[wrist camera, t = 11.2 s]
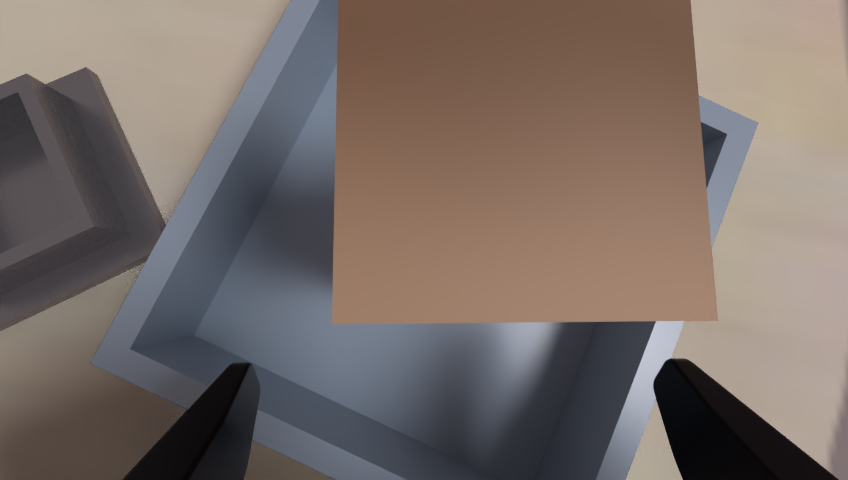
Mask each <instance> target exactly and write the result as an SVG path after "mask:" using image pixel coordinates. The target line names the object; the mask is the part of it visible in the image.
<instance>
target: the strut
mask: <svg viewBox="0 0 848 480" xmlns="http://www.w3.org/2000/svg"><path fill="white" fill-rule="evenodd" d="M624 321H718V317H717V305H716V293H715V282H714V270H713V258H712V247H711V235H710V223H709V212H708V200H707V189H706V177H705V165H704V154H703V142H702V130H701V119H700V107H699V95H698V84H697V72H696V60H695V49H694V37H693V25H692V14H691V2H690V0H338V38H337V90H336V142H335V194H334V246H333V298H332V324H412V323H518V322H624Z"/></svg>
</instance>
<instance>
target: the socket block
mask: <svg viewBox="0 0 848 480" xmlns="http://www.w3.org/2000/svg"><path fill="white" fill-rule="evenodd" d="M165 227H166V225H165V222H164V220H163V218H162V216H161V214H160V211H159V209H158V207H157V205H156V203H155V201H154V198H153V196H152V194H151V192H150V190H149V187H148V185H147V183H146V181H145V179H144V177H143V174H142V172H141V170H140V168H139V166H138V163H137V161H136V159H135V157H134V155H133V153H132V150H131V148H130V146H129V144H128V142H127V139H126V137H125V135H124V133H123V131H122V128H121V126H120V124H119V122H118V120H117V118H116V115H115V113H114V111H113V109H112V107H111V104H110V102H109V100H108V98H107V96H106V94H105V91H104V89H103V87H102V85H101V83H100V80H99V78H98V76H97V75H96V74H95V73H94V72H92V71H91V70H89V69H88V68H87V67H85V68H83V69H81V70H78V71H76V72H74V73H71V74H69V75H67V76H64V77H62V78H60V79H57V80H55V81H53V82H50V83H48V84H44V83H42V82H40V81H39V80H37V79H35V78H34V77H32V76H30V75H28V74H24V75H22V76H20V77H17V78H15V79H13V80H10V81H8V82H6V83H3V84H1V85H0V331H1V330H3V329H5V328H8V327H10V326H12V325H14V324H16V323H18V322H20V321H22V320H24V319H26V318H28V317H31V316H33V315H35V314H37V313H39V312H41V311H43V310H45V309H47V308H49V307H52V306H54V305H56V304H58V303H60V302H62V301H64V300H66V299H68V298H70V297H73V296H75V295H77V294H79V293H81V292H83V291H85V290H87V289H89V288H91V287H93V286H96V285H98V284H100V283H102V282H104V281H106V280H108V279H110V278H112V277H114V276H117V275H119V274H121V273H123V272H125V271H127V270H129V269H131V268H133V267H135V266H138V265H140V264H142V263H144V262H146V261H147V259H148V258H149V256H150V254H151V252H152V250H153V249H154V247H155V245H156V243H157V241H158V239H159V238H160V236H161V234H162V232H163V230H164V229H165Z"/></svg>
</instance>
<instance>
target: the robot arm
mask: <svg viewBox="0 0 848 480" xmlns="http://www.w3.org/2000/svg"><path fill="white" fill-rule="evenodd" d="M653 389H654V393H655V396H656V400H657V403H658V406H659V410H660V413H661V416H662V420H663V423H664V426H665V430H666V433H667V436H668V440H669V443H670V446H671V449H672V452H673V455H674V458H675V461H676V463H677V466H678V469H679V471H680V474H681V476H682V478H683V480H838V479H837V478H836V477H835V476H834V475H832V474H831V473H830V472H829V471H827V470H826V469H825V468H824V467H822V466H821V465H820V464H819V463H817V462H816V461H815V460H814V459H812V458H811V457H810V456H809V455H807V454H806V453H805V452H804V451H802V450H801V449H800V448H799V447H797V446H796V445H795V444H794V443H792V442H791V441H790V440H789V439H787V438H786V437H785V436H784V435H782V434H781V433H780V432H779V431H777V430H776V429H775V428H774V427H772V426H771V425H770V424H769V423H767V422H766V421H765V420H764V419H762V418H761V417H760V416H759V415H757V414H756V413H755V412H754V411H752V410H751V409H750V408H749V407H747V406H746V405H745V404H744V403H742V402H741V401H740V400H739V399H737V398H736V397H735V396H734V395H732V394H731V393H730V392H729V391H727V390H726V389H725V388H724V387H722V386H721V385H720V384H719V383H717V382H716V381H715V380H714V379H712V378H711V377H710V376H709V375H707V374H706V373H705V372H704V371H702V370H701V369H700V368H699V367H697V366H696V365H695V364H694V363H692V362H691V361H689V360H687V359H668V360H666V361H665V362H664V364H663V366H662V367H661V369H660V370H659V372H658V374H657V375H656V377H655V379H654V382H653ZM259 399H260V383H259V380H258V377H257V374H256V372H255V369H254V366H253V364H252V363H250V362H235V363H232V364H230V365H229V366H228V367H227V368H226V369H225V370H224V371H223V372H222V373H221V374H220V375H219V376H218V377H217V378H216V380H215V381H214V382H213V383H212V384H211V385H210V386H209V387H208V388H207V389H206V390H205V391H204V392H203V394H202V395H201V396H200V397H199V398H198V399H197V400H196V401H195V402H194V403H193V404H192V405H191V406H190V408H189V409H188V410H187V411H186V412H185V413H184V414H183V415H182V416H181V417H180V418H179V419H178V420H177V421H176V423H175V424H174V425H173V426H172V427H171V428H170V429H169V430H168V431H167V432H166V433H165V434H164V435H163V437H162V438H161V439H160V440H159V441H158V442H157V443H156V444H155V445H154V446H153V447H152V448H151V449H150V451H149V452H148V453H147V454H146V455H145V456H144V457H143V458H142V459H141V460H140V461H139V462H138V463H137V465H136V466H135V467H134V468H133V469H132V470H131V471H130V472H129V473H128V474H127V475H126V476H125V477H124V478H123V480H244V476H245V472H246V468H247V464H248V459H249V454H250V448H251V443H252V437H253V432H254V426H255V421H256V415H257V410H258V404H259Z"/></svg>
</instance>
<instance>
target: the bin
mask: <svg viewBox="0 0 848 480" xmlns="http://www.w3.org/2000/svg"><path fill="white" fill-rule="evenodd" d="M337 38H338V0H291V1H290V3H289V5H288V7H287V9H286V10H285V12H284V14H283V16H282V18H281V20H280V21H279V23H278V25H277V27H276V29H275V30H274V32H273V34H272V36H271V38H270V39H269V41H268V43H267V45H266V47H265V48H264V50H263V52H262V54H261V56H260V57H259V59H258V61H257V63H256V65H255V66H254V68H253V70H252V72H251V74H250V75H249V77H248V79H247V81H246V83H245V84H244V86H243V88H242V90H241V92H240V93H239V95H238V97H237V99H236V101H235V102H234V104H233V106H232V108H231V110H230V111H229V113H228V115H227V117H226V119H225V120H224V122H223V124H222V126H221V128H220V129H219V131H218V133H217V135H216V137H215V139H214V140H213V142H212V144H211V146H210V148H209V149H208V151H207V153H206V155H205V157H204V158H203V160H202V162H201V164H200V166H199V167H198V169H197V171H196V173H195V175H194V176H193V178H192V180H191V182H190V184H189V185H188V187H187V189H186V191H185V193H184V194H183V196H182V198H181V200H180V202H179V203H178V205H177V207H176V209H175V211H174V212H173V214H172V216H171V218H170V220H169V221H168V223H167V225H166V227H165V229H164V230H163V232H162V234H161V236H160V238H159V239H158V241H157V243H156V245H155V247H154V249H153V250H152V252H151V254H150V256H149V258H148V259H147V261H146V263H145V265H144V267H143V268H142V270H141V272H140V274H139V276H138V277H137V279H136V281H135V283H134V285H133V286H132V288H131V290H130V292H129V294H128V295H127V297H126V299H125V301H124V303H123V304H122V306H121V308H120V310H119V312H118V313H117V315H116V317H115V319H114V321H113V322H112V324H111V326H110V328H109V330H108V331H107V333H106V335H105V337H104V339H103V340H102V342H101V344H100V346H99V348H98V349H97V351H96V353H95V355H94V357H93V358H92V360H91V362H90V364H92V365H94V366H96V367H98V368H100V369H103V370H105V371H107V372H109V373H111V374H113V375H115V376H117V377H119V378H122V379H124V380H126V381H128V382H130V383H132V384H134V385H136V386H139V387H141V388H143V389H145V390H147V391H149V392H151V393H153V394H155V395H158V396H160V397H162V398H164V399H166V400H168V401H170V402H172V403H174V404H177V405H179V406H181V407H183V408H185V409H187V410H188V409H189V408H190V406H191V405H192V404H193V403H194V402H195V401H196V400H197V399H198V398H199V397H200V396H201V395H202V394H203V392H204V391H205V390H206V389H207V388H208V387H209V386H210V385H211V384H212V383H213V382H214V381H215V380H216V378H217V377H218V376H219V375H220V374H221V373H222V372H223V371H224V370H225V369H226V368H227V367H228V366H229V365H230V364H232V363H235V362H250V363H252V364H253V366H254V369H255V372H256V374H257V377H258V380H259V383H260V399H259V404H258V410H257V415H256V421H255V426H254V432H253V437H252V440H253V441H255V442H257V443H259V444H261V445H263V446H265V447H268V448H270V449H272V450H274V451H276V452H278V453H280V454H282V455H285V456H287V457H289V458H291V459H293V460H295V461H297V462H299V463H301V464H304V465H306V466H308V467H310V468H312V469H314V470H316V471H318V472H320V473H323V474H325V475H327V476H329V477H331V478H333V479H335V480H626V477H627V475H628V472H629V469H630V467H631V464H632V461H633V458H634V456H635V453H636V450H637V448H638V445H639V442H640V440H641V437H642V434H643V432H644V429H645V426H646V424H647V421H648V418H649V415H650V413H651V410H652V407H653V405H654V402H655V399H656V396H655V393H654V389H653V382H654V379H655V377H656V375H657V374H658V372H659V370H660V369H661V367H662V366H663V364H664V362H665V361H666V360H668V359H671V356H672V354H673V351H674V348H675V345H676V343H677V340H678V337H679V335H680V332H681V329H682V327H683V324H684V321H624V322H518V323H412V324H332V298H333V246H334V194H335V142H336V90H337ZM699 107H700V119H701V130H702V142H703V154H704V165H705V177H706V189H707V200H708V212H709V223H710V235H711V247H712V246H713V243H714V241H715V238H716V235H717V233H718V230H719V227H720V224H721V222H722V219H723V216H724V214H725V211H726V208H727V206H728V203H729V200H730V198H731V195H732V192H733V189H734V187H735V184H736V181H737V179H738V176H739V173H740V171H741V168H742V165H743V163H744V160H745V157H746V155H747V152H748V149H749V146H750V144H751V141H752V138H753V136H754V133H755V130H756V128H757V125H758V122H755V121H753V120H751V119H749V118H747V117H744V116H742V115H740V114H738V113H736V112H734V111H731V110H729V109H727V108H725V107H723V106H721V105H718V104H716V103H714V102H712V101H710V100H707V99H705V98H703V97H701V96H699Z"/></svg>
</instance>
